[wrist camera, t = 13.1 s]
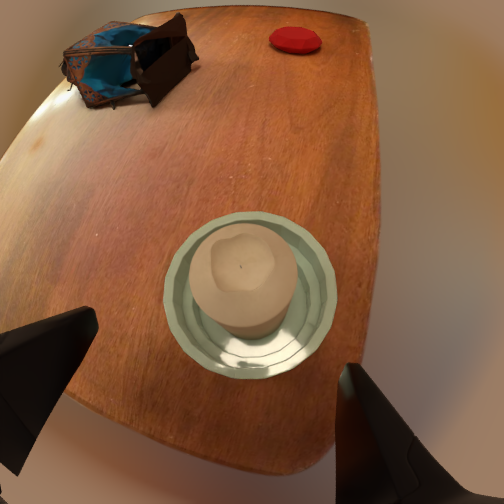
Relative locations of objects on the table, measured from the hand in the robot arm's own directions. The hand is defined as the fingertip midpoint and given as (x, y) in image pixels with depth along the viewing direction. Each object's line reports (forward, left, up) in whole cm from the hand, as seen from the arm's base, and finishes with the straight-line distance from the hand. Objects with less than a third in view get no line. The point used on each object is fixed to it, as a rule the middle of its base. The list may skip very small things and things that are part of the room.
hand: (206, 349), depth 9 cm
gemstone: (+48, +7, -13) cm, 50 cm away
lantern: (+31, +32, -13) cm, 46 cm away
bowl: (+4, +1, -13) cm, 14 cm away
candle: (+4, +1, -13) cm, 14 cm away
